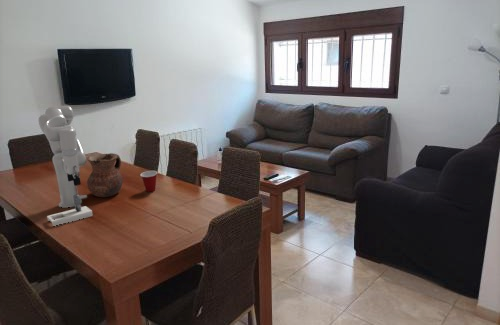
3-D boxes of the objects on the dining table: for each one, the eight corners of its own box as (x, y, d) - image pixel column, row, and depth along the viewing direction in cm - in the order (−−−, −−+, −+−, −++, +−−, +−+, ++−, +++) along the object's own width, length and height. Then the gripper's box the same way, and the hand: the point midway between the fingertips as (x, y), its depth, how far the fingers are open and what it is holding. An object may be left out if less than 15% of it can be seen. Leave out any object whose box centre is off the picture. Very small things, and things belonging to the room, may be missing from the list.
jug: (111, 200, 226) (106, 161, 219) (81, 198, 230) (75, 160, 223) (130, 188, 247) (126, 152, 240) (102, 187, 251) (97, 151, 244)
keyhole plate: (86, 211, 210) (85, 206, 209) (92, 215, 203) (92, 210, 202) (47, 221, 197) (46, 216, 197) (53, 226, 190) (52, 221, 189)
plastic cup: (138, 191, 240) (136, 174, 237) (149, 187, 249) (148, 169, 246) (151, 194, 235) (149, 176, 232) (162, 189, 244) (160, 171, 241)
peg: (82, 213, 206) (79, 193, 203) (84, 216, 203) (81, 195, 200) (73, 216, 203) (70, 195, 200) (76, 218, 200) (73, 197, 197)
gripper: (57, 150, 198) (62, 180, 202) (67, 156, 185) (72, 188, 190) (71, 148, 203) (76, 177, 207) (82, 153, 190) (87, 185, 195)
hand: (74, 182), depth 199 cm, fingers open, 9 cm apart
